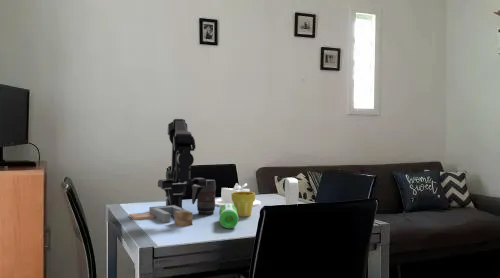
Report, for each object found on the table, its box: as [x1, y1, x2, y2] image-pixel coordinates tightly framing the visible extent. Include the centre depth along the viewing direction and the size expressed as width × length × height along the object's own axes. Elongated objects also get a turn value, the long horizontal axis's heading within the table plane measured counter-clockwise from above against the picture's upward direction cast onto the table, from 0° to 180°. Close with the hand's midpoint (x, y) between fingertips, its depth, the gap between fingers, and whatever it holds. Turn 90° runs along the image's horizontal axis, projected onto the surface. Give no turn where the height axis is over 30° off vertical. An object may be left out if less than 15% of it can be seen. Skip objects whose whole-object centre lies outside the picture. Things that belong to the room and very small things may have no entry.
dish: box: [215, 182, 262, 208], centre depth 230 cm, size 25×25×11 cm
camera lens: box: [196, 179, 217, 216], centre depth 201 cm, size 8×8×15 cm
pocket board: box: [148, 205, 186, 224], centre depth 191 cm, size 11×18×4 cm, turn 31°
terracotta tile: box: [128, 211, 155, 221], centre depth 191 cm, size 8×9×1 cm
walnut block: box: [173, 209, 193, 227], centre depth 178 cm, size 5×6×5 cm
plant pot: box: [232, 191, 256, 217], centre depth 199 cm, size 10×10×10 cm
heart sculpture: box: [284, 177, 300, 206], centre depth 184 cm, size 16×5×18 cm, turn 2°
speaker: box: [218, 203, 240, 229], centre depth 179 cm, size 18×7×8 cm, turn 4°
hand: (182, 204), depth 179 cm, fingers open, 9 cm apart
